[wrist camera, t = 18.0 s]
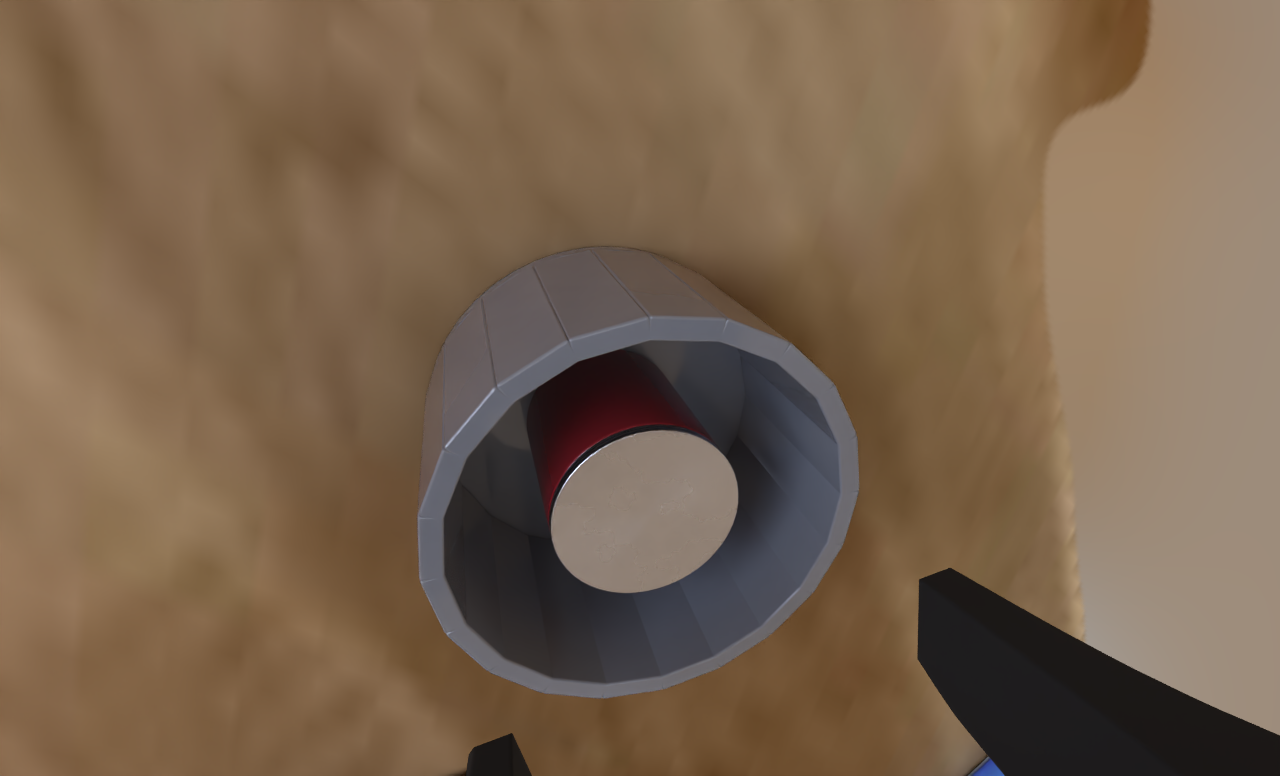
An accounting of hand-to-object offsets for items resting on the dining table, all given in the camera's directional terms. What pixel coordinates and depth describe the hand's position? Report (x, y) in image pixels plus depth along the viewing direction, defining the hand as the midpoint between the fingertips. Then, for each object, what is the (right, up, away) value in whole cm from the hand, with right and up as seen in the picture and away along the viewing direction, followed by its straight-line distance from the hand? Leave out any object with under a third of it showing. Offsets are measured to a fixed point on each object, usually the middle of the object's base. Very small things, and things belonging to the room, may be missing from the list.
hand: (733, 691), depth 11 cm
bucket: (-3, +4, +8) cm, 10 cm away
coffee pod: (-3, +4, +8) cm, 9 cm away
